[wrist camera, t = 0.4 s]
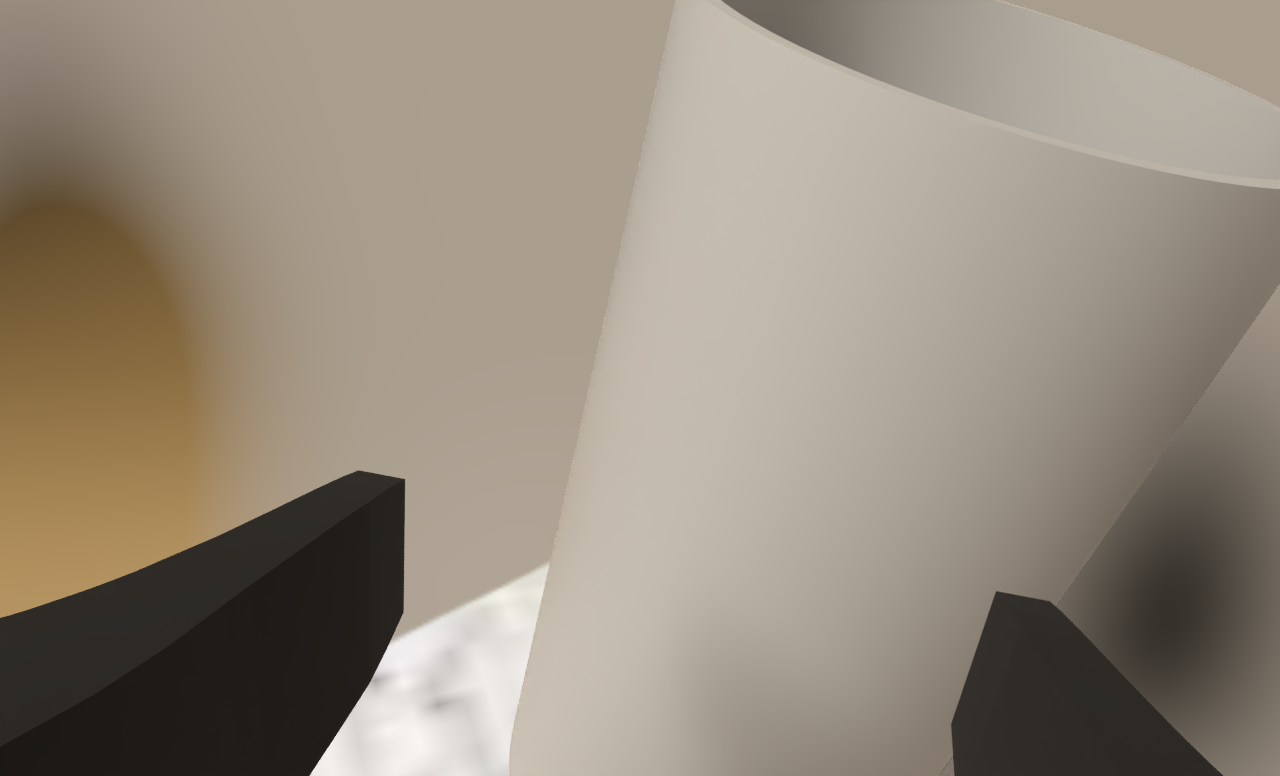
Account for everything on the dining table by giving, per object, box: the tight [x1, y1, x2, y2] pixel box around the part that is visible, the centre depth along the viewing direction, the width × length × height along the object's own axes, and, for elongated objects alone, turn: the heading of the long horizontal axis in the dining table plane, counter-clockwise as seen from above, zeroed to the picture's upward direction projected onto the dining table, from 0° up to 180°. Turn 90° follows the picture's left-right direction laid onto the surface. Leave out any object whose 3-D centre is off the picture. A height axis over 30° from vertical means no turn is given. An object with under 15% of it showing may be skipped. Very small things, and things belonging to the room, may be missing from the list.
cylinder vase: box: [509, 0, 1280, 776], centre depth 25 cm, size 12×12×25 cm
